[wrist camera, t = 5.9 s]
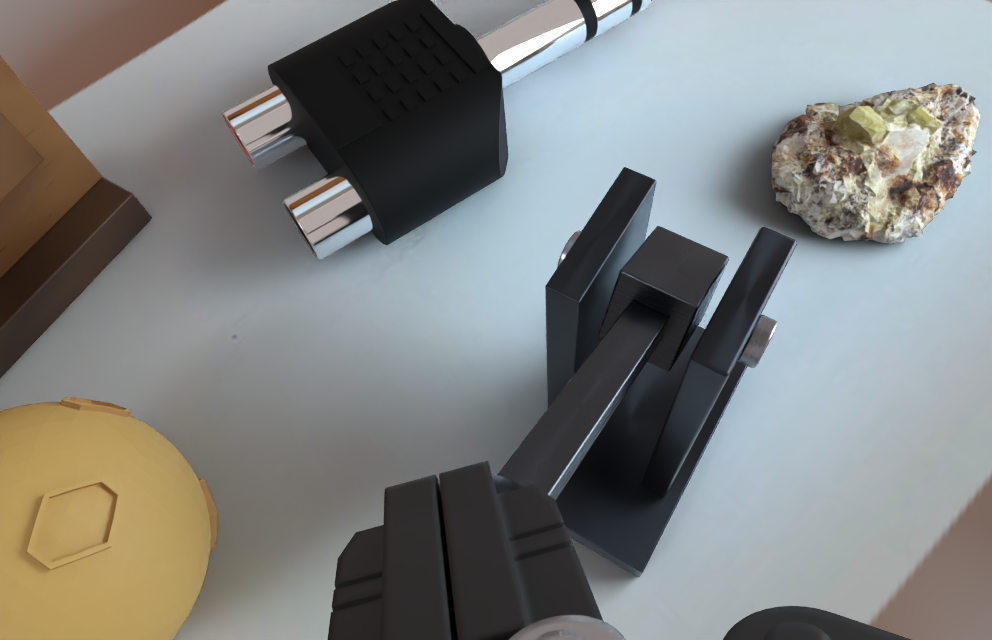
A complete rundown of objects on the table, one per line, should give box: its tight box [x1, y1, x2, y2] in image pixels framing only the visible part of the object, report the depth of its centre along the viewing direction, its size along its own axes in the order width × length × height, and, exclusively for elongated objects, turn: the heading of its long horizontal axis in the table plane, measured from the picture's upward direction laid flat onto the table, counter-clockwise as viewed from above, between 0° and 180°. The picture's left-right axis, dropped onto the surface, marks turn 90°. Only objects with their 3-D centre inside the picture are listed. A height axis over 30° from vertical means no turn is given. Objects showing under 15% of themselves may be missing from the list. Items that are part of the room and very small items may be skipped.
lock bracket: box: [546, 167, 797, 577], centre depth 25 cm, size 10×6×13 cm, turn 148°
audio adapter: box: [222, 0, 652, 260], centre depth 37 cm, size 11×5×25 cm
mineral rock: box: [771, 83, 981, 244], centre depth 35 cm, size 11×4×8 cm
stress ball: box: [0, 397, 218, 640], centre depth 25 cm, size 10×10×10 cm
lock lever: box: [438, 226, 729, 500], centre depth 17 cm, size 13×3×3 cm, turn 149°
